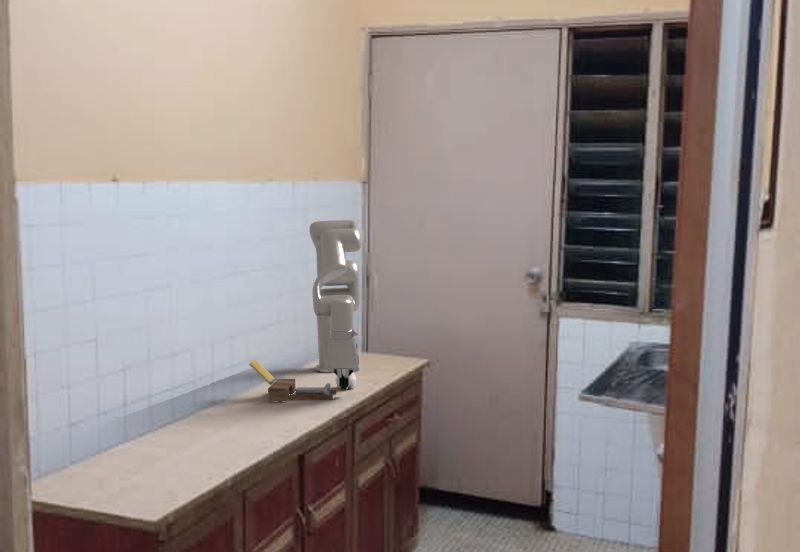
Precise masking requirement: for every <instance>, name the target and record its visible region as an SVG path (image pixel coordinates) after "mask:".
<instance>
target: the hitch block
mask: <svg viewBox="0 0 800 552" xmlns="http://www.w3.org/2000/svg"><path fill="white" fill-rule="evenodd" d="M296 388H297V386H296V378H277V380H276V381H275V382H274V383H273V384H272V385H269V387H268V388H267V396H268V402H269V401H287V400H288V399H289V400H290V399H310V400H309V401H312V400H314V401H315V400H321V401H324V400H325V401H326V400H327V401H328V400H333V399H334V398H333V397H334V396H333V395H337V389H331V395H296V394H295V393H296V392H295V391H296ZM294 392H295V393H294ZM293 393H294V394H293ZM289 394H293V395H289ZM289 400H288V401H289ZM288 401H287V402H288Z"/></svg>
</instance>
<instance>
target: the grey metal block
mask: <svg viewBox="0 0 800 552" xmlns="http://www.w3.org/2000/svg"><path fill="white" fill-rule="evenodd" d="M331 390H332V389H331V383H326V384H325V385H324V387H320V386H319V387H315V386H313V387H307V386H306V387H298V386H296V392H295V395H332V394H331Z"/></svg>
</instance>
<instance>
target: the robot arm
mask: <svg viewBox="0 0 800 552" xmlns="http://www.w3.org/2000/svg"><path fill="white" fill-rule="evenodd" d="M309 235H310V238H311V241H312V243H313V246H314V249H315V252H316V272H317V273H316V275H317V277H316V278H315V280H314V283H313V287H312V304H313V313H314V314H315V316H316V324H317V325H316V326H317V344H318V345H317V347H318V348H317V349H318V365H316V366H315V367H314V369H315V371H316V372H318V371H320V373H333V374H334V375H336V377H337V376H338V378H339V386H340V387H341V389H340V390H342V391H343V390H344V391H346V389H347V387H348V388H350V387H349V376H350V375H351V374H352V373H354V374H355V373H358V372H360V366H359V364H360V357H359V356H360V355H359V354H360V353H359V347H358V346H359V345H358V341H357V338H356V336H358V335H359V331H355V330H354V312H356V311H357V310H358V309H359V308H360V303H361V302H360V300H361V299H360V271H359V270H360V269H359V266H358V263H357V262H355V261H354V260H349V259H348V260H347V256H346V255H347V254H346V253H356V252H359V251H360V249H361V248H362V237H361V233H360V230H359V227H358V225H357V222H355V221H354V220H352V219H341V220H338V219H337V220H319V221H314V222H312V223H311V224H310V226H309ZM323 286H325V287H327V288H323ZM334 286H346V287H334ZM328 287H329V288H328ZM342 369H346V370H345V376H343V373H342ZM347 390H348V389H347Z"/></svg>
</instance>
